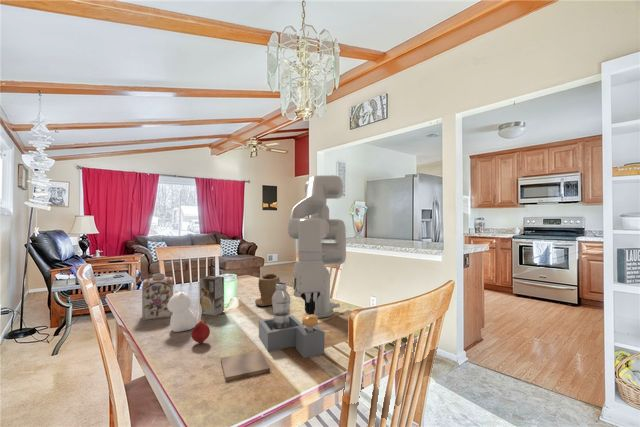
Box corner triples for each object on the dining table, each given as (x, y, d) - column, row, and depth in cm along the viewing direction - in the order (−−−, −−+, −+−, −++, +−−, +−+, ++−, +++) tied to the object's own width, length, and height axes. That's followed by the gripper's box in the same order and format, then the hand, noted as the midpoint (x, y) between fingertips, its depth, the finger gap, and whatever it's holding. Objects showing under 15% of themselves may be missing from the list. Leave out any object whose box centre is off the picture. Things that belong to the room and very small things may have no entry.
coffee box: (224, 311, 136) (224, 276, 136) (215, 316, 130) (215, 279, 130) (209, 309, 139) (209, 275, 140) (198, 313, 133) (198, 277, 134)
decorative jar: (173, 309, 140) (173, 271, 140) (173, 316, 129) (173, 275, 130) (144, 312, 135) (144, 273, 135) (141, 321, 124) (141, 277, 124)
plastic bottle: (287, 345, 101) (287, 285, 101) (268, 343, 102) (268, 285, 102) (293, 337, 107) (293, 281, 107) (275, 336, 108) (275, 281, 109)
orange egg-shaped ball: (314, 331, 99) (314, 313, 99) (320, 337, 95) (320, 318, 95) (300, 334, 97) (300, 315, 97) (305, 340, 93) (305, 320, 93)
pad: (260, 353, 94) (260, 350, 94) (269, 371, 83) (269, 368, 83) (220, 361, 90) (220, 357, 90) (225, 381, 79) (225, 377, 79)
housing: (300, 329, 114) (300, 311, 114) (324, 353, 94) (324, 331, 94) (258, 336, 108) (258, 317, 108) (275, 364, 88) (275, 340, 88)
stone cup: (261, 309, 139) (261, 277, 139) (252, 303, 149) (252, 273, 149) (290, 304, 147) (290, 274, 147) (280, 299, 157) (280, 270, 157)
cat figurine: (164, 329, 115) (164, 290, 115) (197, 321, 123) (197, 285, 123) (171, 336, 108) (170, 295, 108) (205, 327, 116) (205, 289, 116)
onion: (198, 348, 98) (198, 324, 98) (187, 344, 101) (187, 321, 101) (213, 342, 103) (213, 319, 103) (202, 338, 106) (202, 316, 106)
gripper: (325, 254, 103) (325, 307, 102) (284, 256, 97) (284, 313, 96) (335, 256, 96) (335, 313, 96) (291, 259, 90) (291, 320, 90)
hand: (309, 313), depth 96 cm, fingers closed
